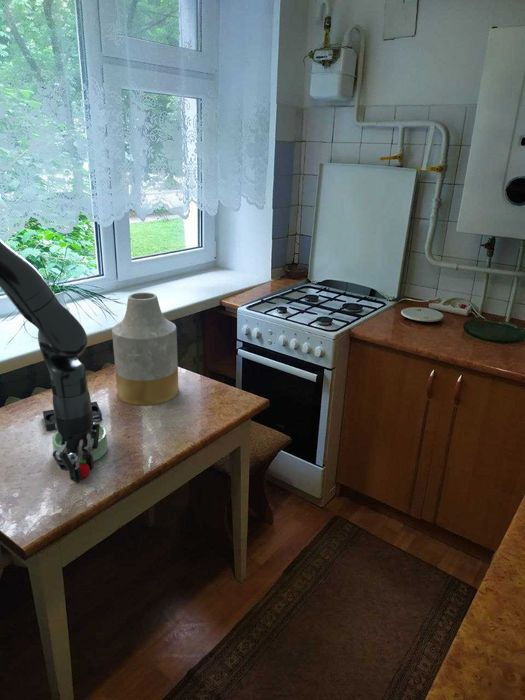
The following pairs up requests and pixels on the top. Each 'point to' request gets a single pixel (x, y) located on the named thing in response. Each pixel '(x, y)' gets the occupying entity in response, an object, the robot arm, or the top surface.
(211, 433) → the top surface
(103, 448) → the bowl
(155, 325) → the vase
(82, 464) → the strawberry
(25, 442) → the top surface
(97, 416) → the vhs tape
